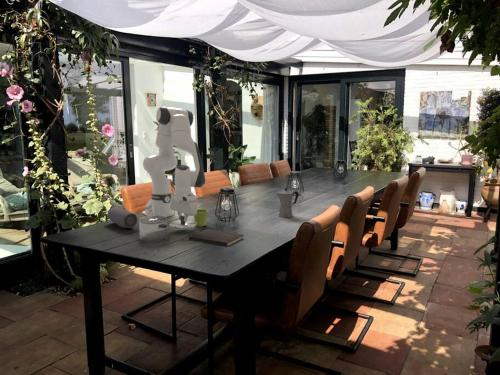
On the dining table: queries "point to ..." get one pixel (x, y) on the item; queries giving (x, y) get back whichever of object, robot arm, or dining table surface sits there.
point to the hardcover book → (216, 237)
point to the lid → (183, 224)
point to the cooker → (153, 228)
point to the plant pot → (201, 217)
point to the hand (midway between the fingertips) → (183, 220)
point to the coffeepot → (286, 202)
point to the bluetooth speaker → (122, 217)
